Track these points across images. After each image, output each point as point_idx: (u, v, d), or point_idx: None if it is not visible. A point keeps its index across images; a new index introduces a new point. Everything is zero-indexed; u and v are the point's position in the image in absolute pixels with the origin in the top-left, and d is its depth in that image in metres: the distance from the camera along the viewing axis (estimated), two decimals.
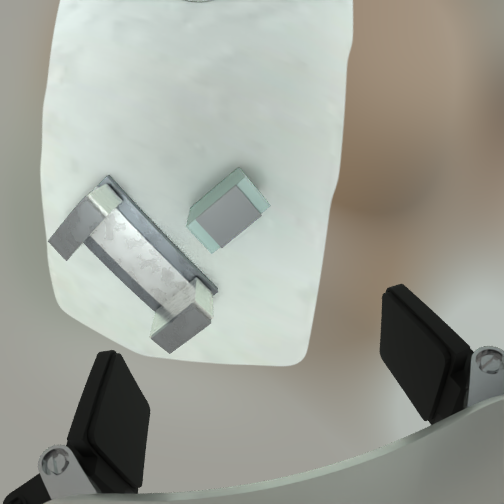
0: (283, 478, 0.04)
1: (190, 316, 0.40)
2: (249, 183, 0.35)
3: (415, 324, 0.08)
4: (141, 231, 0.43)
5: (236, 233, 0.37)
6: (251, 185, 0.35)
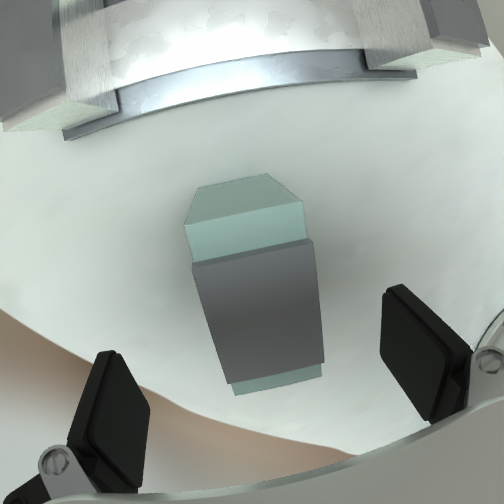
0: (283, 478, 0.04)
1: (33, 68, 0.08)
2: (304, 377, 0.15)
3: (415, 324, 0.08)
4: (287, 56, 0.16)
5: (213, 322, 0.12)
6: (298, 379, 0.15)
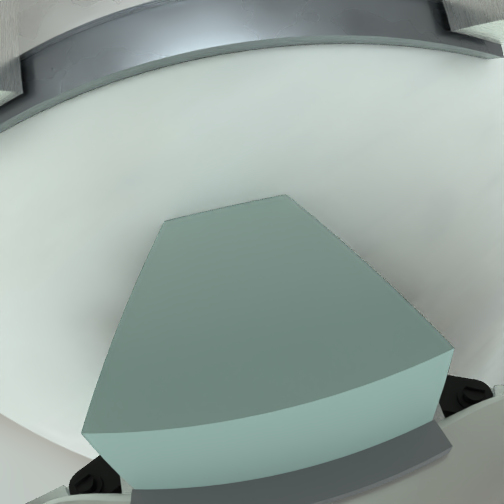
0: None
1: None
2: None
3: None
4: None
5: None
6: None
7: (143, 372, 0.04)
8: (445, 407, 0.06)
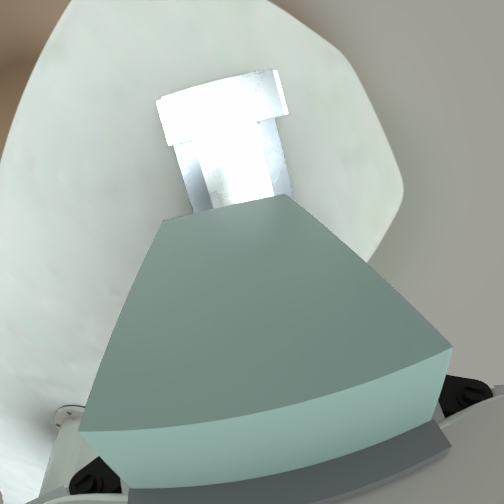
0: None
1: (187, 125, 0.20)
2: None
3: None
4: None
5: None
6: None
7: (140, 370, 0.04)
8: (445, 407, 0.06)
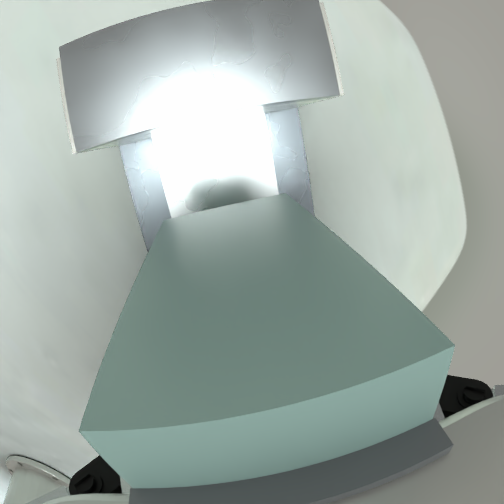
0: None
1: (107, 107, 0.08)
2: None
3: None
4: None
5: None
6: None
7: (141, 369, 0.04)
8: (445, 407, 0.06)
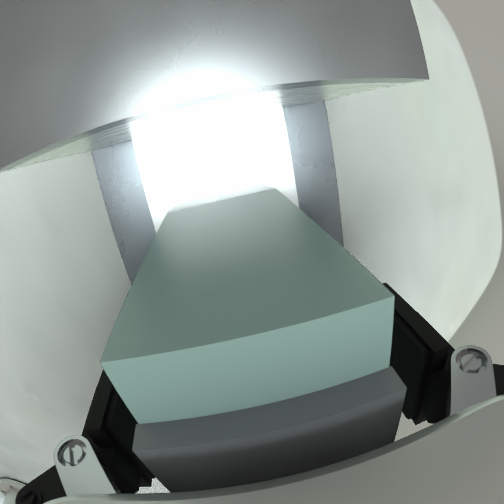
0: (283, 478, 0.04)
1: (29, 93, 0.04)
2: None
3: (396, 322, 0.08)
4: None
5: None
6: None
7: (150, 318, 0.05)
8: None
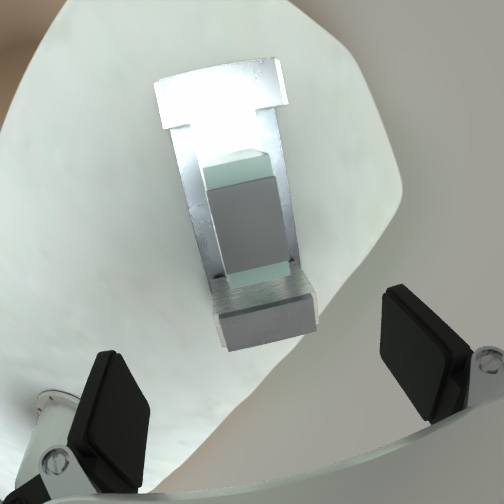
0: (283, 478, 0.04)
1: (184, 109, 0.19)
2: (278, 274, 0.24)
3: (415, 324, 0.08)
4: (212, 229, 0.31)
5: (218, 226, 0.21)
6: (274, 276, 0.23)
7: (212, 164, 0.21)
8: None
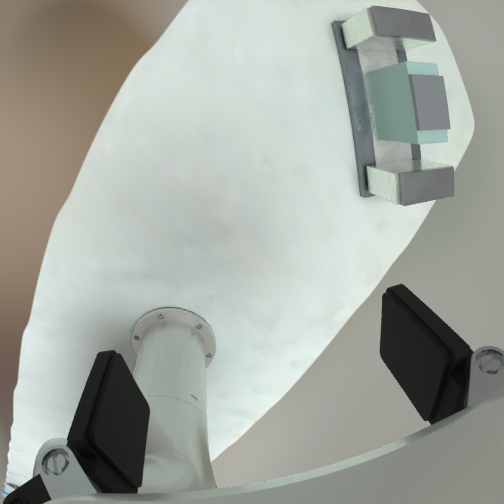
0: (283, 478, 0.04)
1: (388, 27, 0.24)
2: (442, 140, 0.28)
3: (415, 324, 0.08)
4: (368, 126, 0.36)
5: (417, 97, 0.26)
6: (440, 140, 0.28)
7: None
8: None
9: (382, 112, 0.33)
